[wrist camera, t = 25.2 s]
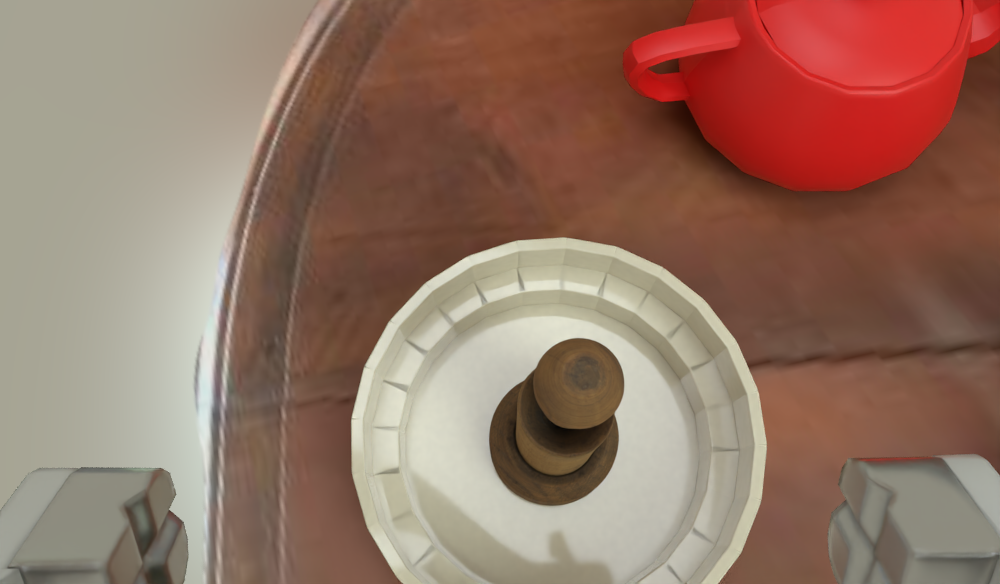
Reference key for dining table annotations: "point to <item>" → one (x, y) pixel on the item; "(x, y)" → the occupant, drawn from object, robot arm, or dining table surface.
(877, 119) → the teapot
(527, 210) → the dining table surface
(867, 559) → the robot arm
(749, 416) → the bowl
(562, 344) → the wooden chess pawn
